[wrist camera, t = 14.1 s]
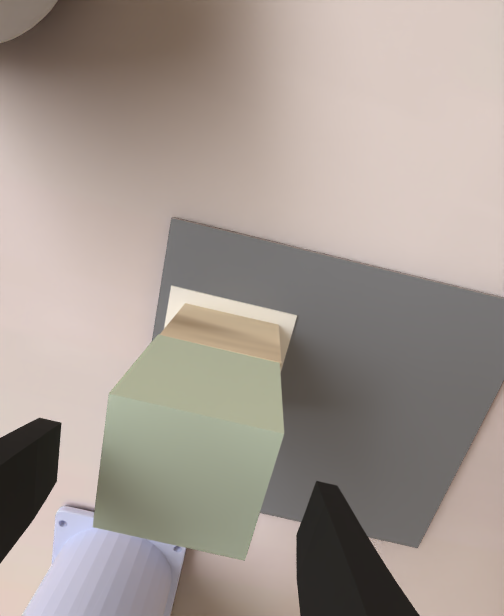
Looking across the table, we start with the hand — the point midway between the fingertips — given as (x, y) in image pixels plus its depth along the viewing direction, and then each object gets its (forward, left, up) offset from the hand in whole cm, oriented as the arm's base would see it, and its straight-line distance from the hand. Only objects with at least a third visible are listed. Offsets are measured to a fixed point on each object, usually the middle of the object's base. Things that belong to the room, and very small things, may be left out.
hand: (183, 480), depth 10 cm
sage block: (0, 0, -4) cm, 4 cm away
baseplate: (-1, -5, -8) cm, 10 cm away
